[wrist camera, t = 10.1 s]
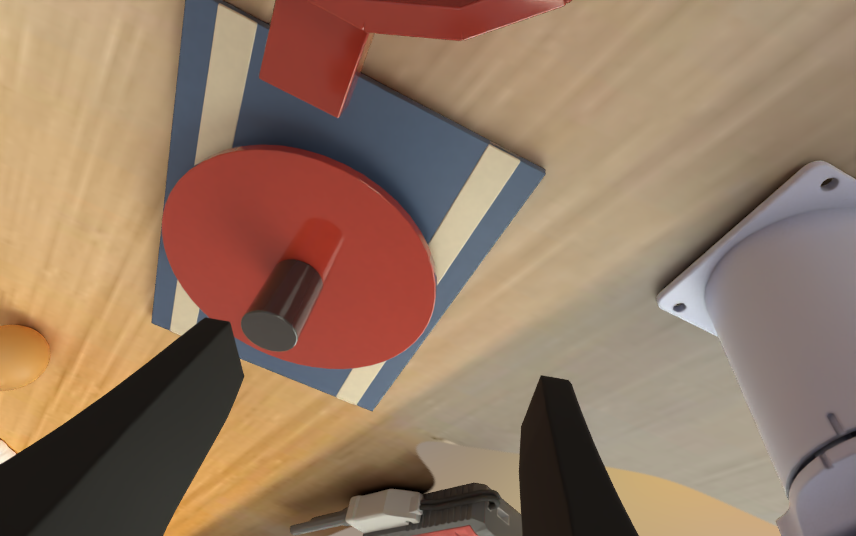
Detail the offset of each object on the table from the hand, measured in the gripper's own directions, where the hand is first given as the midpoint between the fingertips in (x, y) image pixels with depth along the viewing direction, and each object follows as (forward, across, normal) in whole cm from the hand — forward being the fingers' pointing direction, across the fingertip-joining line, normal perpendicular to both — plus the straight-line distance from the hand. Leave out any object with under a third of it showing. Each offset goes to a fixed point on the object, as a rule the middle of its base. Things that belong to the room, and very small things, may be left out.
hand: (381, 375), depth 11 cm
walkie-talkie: (+11, -1, +31) cm, 33 cm away
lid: (+9, +6, +6) cm, 12 cm away
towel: (+10, +6, +6) cm, 13 cm away
